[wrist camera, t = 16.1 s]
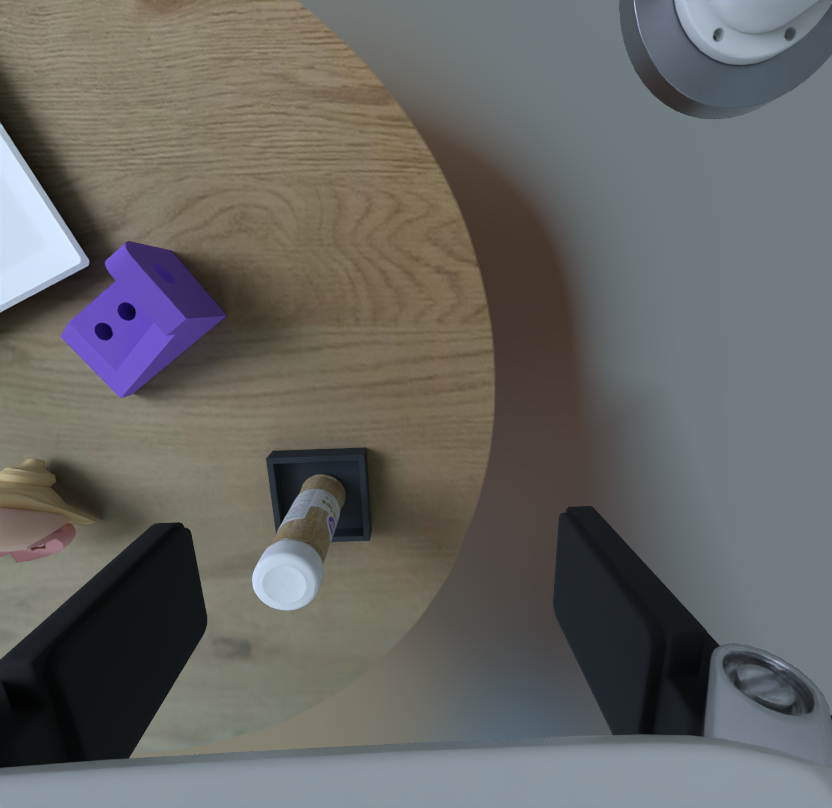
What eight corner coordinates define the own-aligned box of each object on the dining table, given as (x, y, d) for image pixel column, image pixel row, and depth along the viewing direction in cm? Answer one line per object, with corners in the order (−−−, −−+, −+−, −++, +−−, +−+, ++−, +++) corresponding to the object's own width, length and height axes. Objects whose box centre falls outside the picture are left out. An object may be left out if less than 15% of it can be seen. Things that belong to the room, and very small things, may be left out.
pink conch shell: (-6, 453, 39) (-23, 446, 32) (116, 474, 45) (125, 472, 38) (-54, 552, 36) (-85, 569, 29) (83, 561, 42) (86, 576, 35)
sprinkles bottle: (353, 503, 40) (329, 599, 27) (313, 519, 41) (270, 622, 28) (333, 464, 39) (298, 545, 26) (292, 482, 39) (237, 570, 26)
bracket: (171, 250, 34) (115, 238, 28) (226, 315, 36) (186, 318, 29) (74, 335, 36) (-1, 342, 29) (132, 394, 37) (73, 414, 31)
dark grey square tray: (366, 447, 39) (364, 454, 37) (371, 530, 41) (370, 540, 40) (272, 450, 39) (265, 458, 37) (283, 533, 41) (277, 544, 39)
